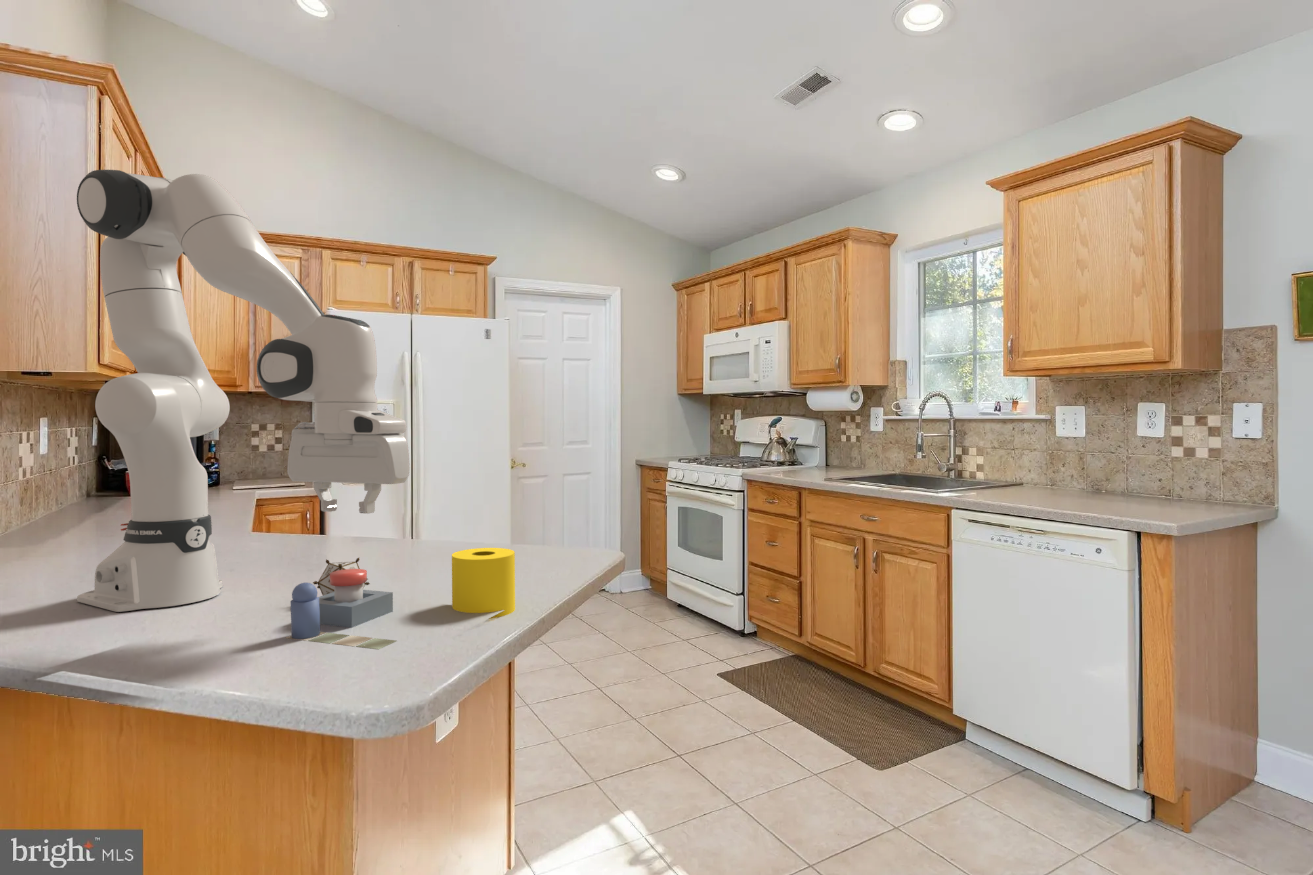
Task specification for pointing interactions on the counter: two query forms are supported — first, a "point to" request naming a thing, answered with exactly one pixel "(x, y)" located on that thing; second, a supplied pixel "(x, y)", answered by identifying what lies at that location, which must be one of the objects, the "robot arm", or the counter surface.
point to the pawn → (305, 612)
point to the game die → (331, 567)
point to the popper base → (354, 608)
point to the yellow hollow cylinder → (484, 581)
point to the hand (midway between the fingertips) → (347, 512)
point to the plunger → (348, 584)
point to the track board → (349, 640)
